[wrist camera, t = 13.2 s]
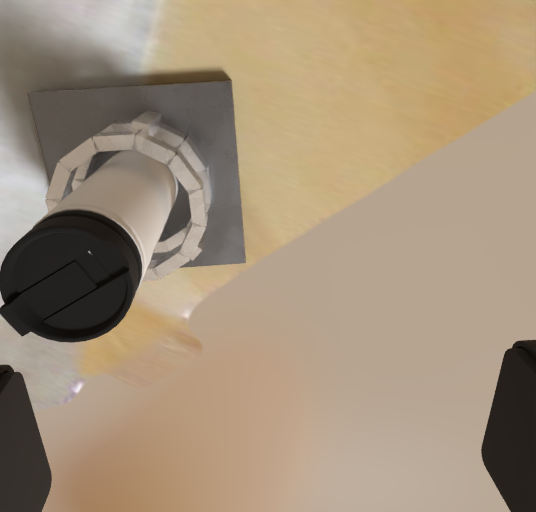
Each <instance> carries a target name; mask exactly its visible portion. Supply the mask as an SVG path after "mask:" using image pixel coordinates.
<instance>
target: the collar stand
mask: <svg viewBox="0 0 536 512" xmlns="http://www.w3.org/2000/svg"><path fill="white" fill-rule="evenodd" d="M28 95H29V99H30V103H31V107H32V111H33V115H34V120H35V124H36V128H37V132H38V136H39V140H40V144H41V148H42V152H43V156H44V160H45V164H46V168H47V172H48V176H49V180H50V186H49V189H48V192H47V195H46V198H47V199H46V204H47V208H48V212H50V211H51V210H52V209H53V208H54V207H56V206H57V205H58V204H59V203H60V202H61V201H62V200H64V199H65V198H66V197H67V196H68V195H69V194H70V193H72V192H73V191H74V190H75V189H76V188H77V187H78V186H79V185H81V184H82V183H83V182H84V181H85V180H86V179H87V178H89V177H90V176H91V175H92V174H93V173H94V172H95V171H97V170H98V169H99V168H100V167H101V166H102V165H103V164H104V163H106V162H107V161H108V160H109V159H110V158H111V157H112V156H114V155H115V154H116V153H117V152H119V151H120V150H132V149H134V150H136V151H138V152H141V153H143V154H145V155H147V156H149V157H151V158H153V159H156V160H158V161H160V162H162V163H164V164H166V165H168V167H169V168H170V169H171V171H172V172H173V173H174V175H175V176H176V177H177V179H178V180H179V190H178V194H177V197H176V200H175V202H174V205H173V207H172V210H171V212H170V214H169V217H168V219H167V222H166V224H165V226H164V229H163V231H162V234H161V236H160V239H159V241H158V243H157V246H156V248H155V251H154V253H153V255H152V258H151V260H150V263H149V265H148V268H147V270H146V272H145V275H144V277H143V279H142V281H153V280H159V279H162V278H163V277H165V276H166V275H168V274H170V273H171V272H173V271H174V270H176V269H177V268H182V267H196V266H210V265H225V264H239V263H246V257H245V245H244V232H243V219H242V206H241V194H240V181H239V168H238V155H237V143H236V130H235V117H234V104H233V92H232V80H224V81H207V82H190V83H173V84H156V85H139V86H122V87H106V88H89V89H72V90H55V91H38V92H31V93H28Z"/></svg>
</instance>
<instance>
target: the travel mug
mask: <svg viewBox="0 0 536 512" xmlns="http://www.w3.org/2000/svg"><path fill="white" fill-rule="evenodd" d="M178 190H179V180H178V179H177V177H176V176H175V175H174V173H173V172H172V171H171V169H170V168H169V167H168V165H166V164H164V163H162V162H160V161H158V160H156V159H153V158H151V157H149V156H147V155H145V154H143V153H141V152H138V151H136V150H134V149H132V150H120V151H119V152H117V153H116V154H115V155H114V156H112V157H111V158H110V159H109V160H108V161H107V162H106V163H104V164H103V165H102V166H101V167H100V168H99V169H98V170H97V171H95V172H94V173H93V174H92V175H91V176H90V177H89V178H87V179H86V180H85V181H84V182H83V183H82V184H81V185H79V186H78V187H77V188H76V189H75V190H74V191H73V192H72V193H70V194H69V195H68V196H67V197H66V198H65V199H64V200H62V201H61V202H60V203H59V204H58V205H57V206H56V207H54V208H53V209H52V210H51V211H50V212H49V213H48V214H47V215H45V216H44V217H43V218H42V219H41V220H40V221H39V222H37V223H36V225H35V226H34V227H33V228H32V230H30V231H29V232H28V233H27V234H26V235H24V236H23V237H22V238H21V239H20V240H19V241H18V242H17V243H15V244H14V246H13V247H12V248H11V249H10V251H9V252H8V253H7V255H6V257H5V259H4V261H3V263H2V266H1V270H0V291H1V295H2V299H3V301H4V303H5V304H4V305H3V306H2V307H1V308H0V314H1V315H2V317H3V318H4V319H5V320H6V321H7V322H8V323H9V324H10V325H11V326H12V327H13V328H14V329H15V330H16V331H17V332H18V333H19V334H20V335H21V336H24V335H26V334H28V333H29V332H33V333H35V334H37V335H38V336H41V337H43V338H46V339H49V340H54V341H59V342H81V341H87V340H90V339H94V338H97V337H99V336H101V335H103V334H105V333H108V332H109V331H110V330H112V329H113V328H114V327H116V326H117V325H118V324H119V323H120V321H121V320H122V319H123V318H124V317H125V315H126V313H127V311H128V310H129V308H130V306H131V303H132V301H133V298H134V296H135V293H136V292H137V290H138V288H139V286H140V284H141V282H142V279H143V277H144V275H145V272H146V270H147V268H148V265H149V263H150V260H151V258H152V255H153V253H154V251H155V248H156V246H157V243H158V241H159V239H160V236H161V234H162V231H163V229H164V226H165V224H166V222H167V219H168V217H169V214H170V212H171V210H172V207H173V205H174V202H175V200H176V197H177V194H178Z"/></svg>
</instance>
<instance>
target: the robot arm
mask: <svg viewBox="0 0 536 512" xmlns="http://www.w3.org/2000/svg"><path fill="white" fill-rule="evenodd" d="M481 451H482V458H483V462H484V465H485V467H486V469H487V471H488V472H489V474H490V476H491V478H492V479H493V481H494V483H495V485H496V487H497V488H498V490H499V492H500V494H501V495H502V497H503V499H504V500H505V502H506V504H507V506H508V508H509V509H510V511H511V512H536V340H526V341H517V342H515V343H514V345H513V347H512V349H508V350H507V351H506V352H505V354H504V358H503V362H502V366H501V370H500V375H499V378H498V382H497V387H496V391H495V395H494V399H493V403H492V407H491V411H490V415H489V419H488V424H487V428H486V431H485V436H484V440H483V444H482V449H481ZM51 480H52V479H51V470H50V467H49V463H48V460H47V457H46V453H45V450H44V446H43V443H42V440H41V436H40V433H39V429H38V426H37V422H36V419H35V416H34V412H33V409H32V405H31V402H30V399H29V395H28V392H27V388H26V385H25V382H24V378H23V376H22V374H21V373H20V372H14V370H13V368H12V367H11V366H10V365H0V512H42V509H43V507H44V504H45V502H46V499H47V497H48V494H49V491H50V487H51Z"/></svg>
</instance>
